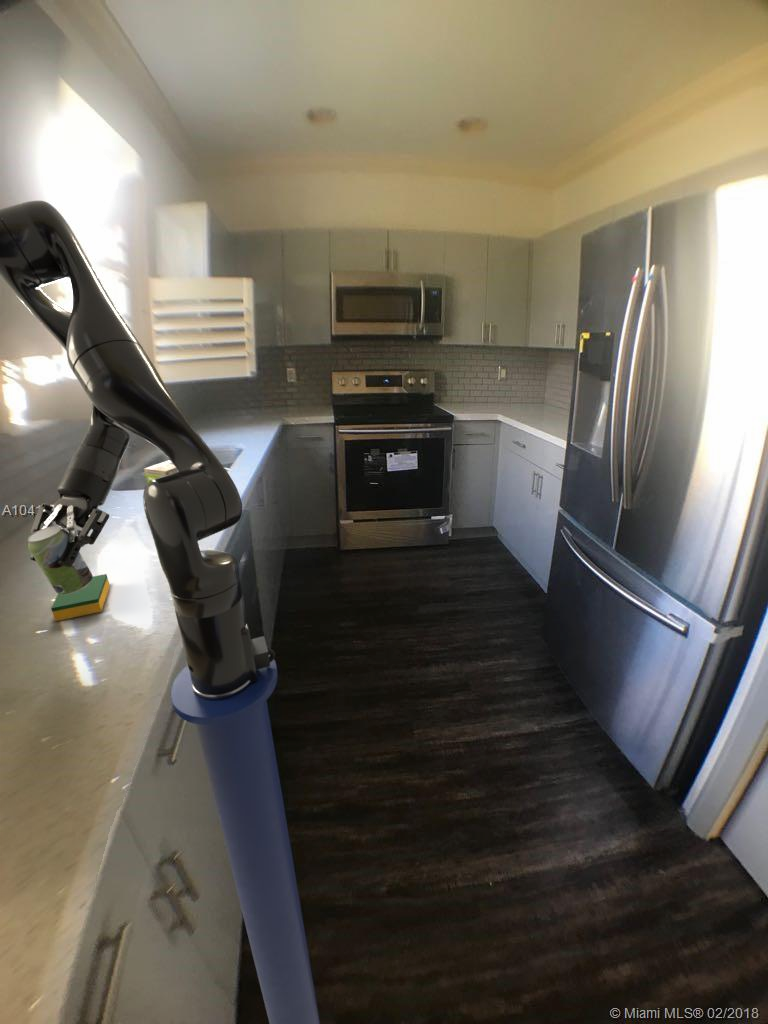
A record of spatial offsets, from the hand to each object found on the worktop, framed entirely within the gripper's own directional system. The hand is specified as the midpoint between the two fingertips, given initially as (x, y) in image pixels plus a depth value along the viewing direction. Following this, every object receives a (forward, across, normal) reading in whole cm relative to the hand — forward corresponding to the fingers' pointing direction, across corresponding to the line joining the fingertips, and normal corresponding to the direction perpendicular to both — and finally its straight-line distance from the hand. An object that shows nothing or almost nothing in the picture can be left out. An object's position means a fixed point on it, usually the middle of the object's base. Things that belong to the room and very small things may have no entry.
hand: (50, 562), depth 78 cm
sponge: (+4, -9, +18) cm, 21 cm away
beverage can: (+3, 0, +6) cm, 7 cm away
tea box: (-32, -27, +56) cm, 70 cm away
